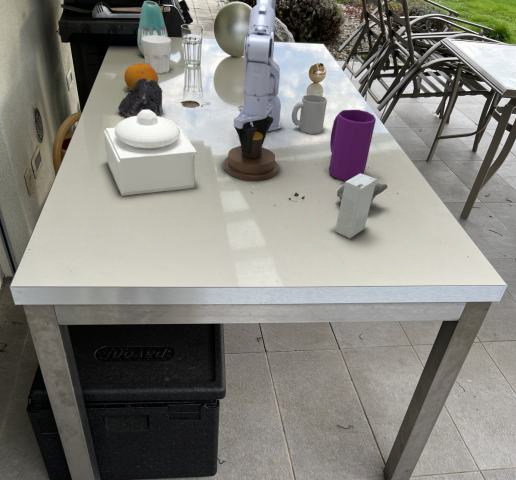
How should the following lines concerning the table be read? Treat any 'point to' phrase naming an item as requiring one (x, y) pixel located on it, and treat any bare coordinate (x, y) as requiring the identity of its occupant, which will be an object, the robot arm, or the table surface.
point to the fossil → (377, 190)
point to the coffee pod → (255, 146)
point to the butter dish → (149, 155)
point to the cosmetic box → (355, 205)
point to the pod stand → (251, 165)
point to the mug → (350, 143)
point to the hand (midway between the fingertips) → (252, 149)
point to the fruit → (139, 74)
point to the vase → (150, 23)
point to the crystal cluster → (142, 99)
